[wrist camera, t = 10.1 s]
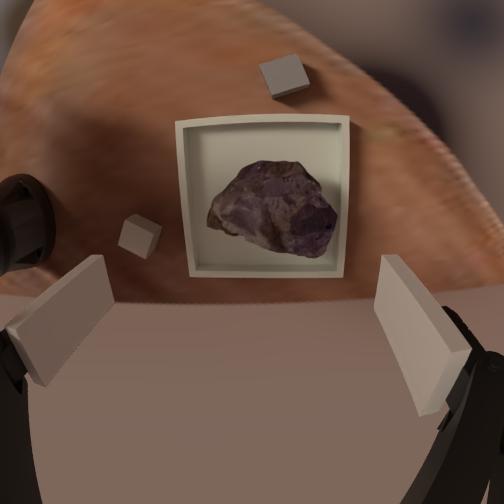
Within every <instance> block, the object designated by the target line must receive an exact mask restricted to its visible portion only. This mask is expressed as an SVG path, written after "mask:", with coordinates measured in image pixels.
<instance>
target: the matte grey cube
mask: <svg viewBox="0 0 504 504" xmlns="http://www.w3.org/2000/svg"><path fill="white" fill-rule="evenodd" d="M162 228H163V227H162V226H160V225H158V224H156V223H154V222H152V221H150V220H148V219H146V218H144V217H142V216H140V215H138V214H136V213H135V214H134V215H132V216H130V217H128V218H127V219H125V221H124V224H123V228H122V231H121V235H120V239H119V243H118V245H119V246H121V247H123V248H125V249H126V250H128V251H130V252H132V253H134V254H136V255H138V256H140V257H142V258H144V259H146V258H147V257H148V256H149V255H150V254H152V253H153V252H154V251H155V248H156V245H157V242H158V239H159V236H160V233H161V230H162Z"/></svg>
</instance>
